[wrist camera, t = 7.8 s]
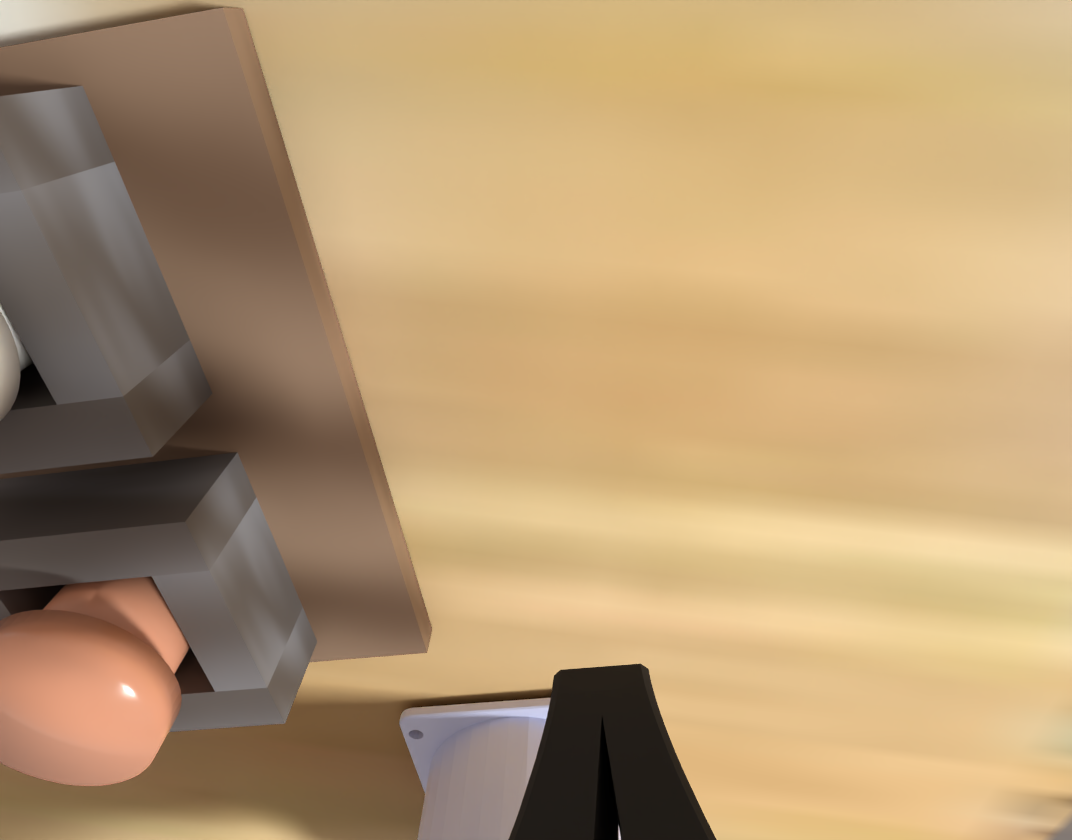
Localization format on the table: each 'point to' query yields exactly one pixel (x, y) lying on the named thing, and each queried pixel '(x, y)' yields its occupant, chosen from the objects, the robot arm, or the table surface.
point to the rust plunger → (90, 682)
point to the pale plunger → (10, 362)
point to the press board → (185, 369)
